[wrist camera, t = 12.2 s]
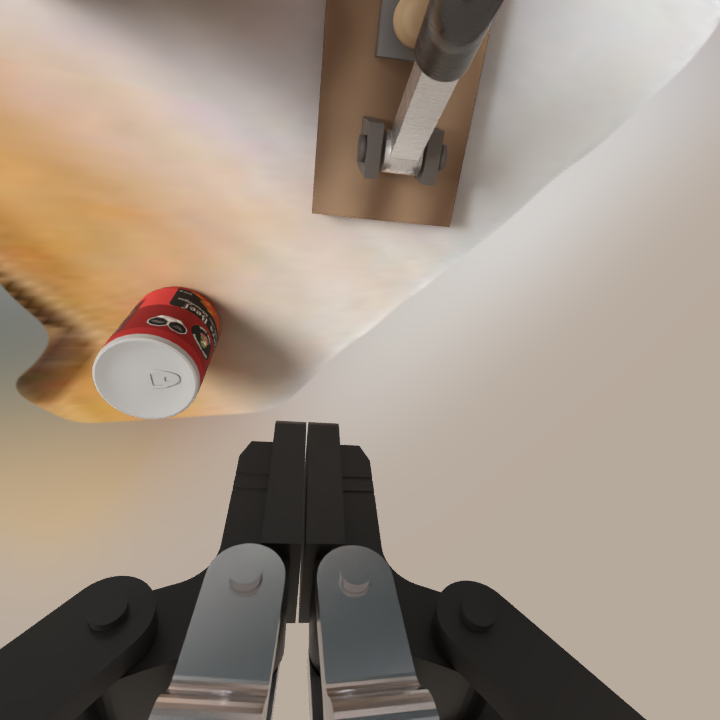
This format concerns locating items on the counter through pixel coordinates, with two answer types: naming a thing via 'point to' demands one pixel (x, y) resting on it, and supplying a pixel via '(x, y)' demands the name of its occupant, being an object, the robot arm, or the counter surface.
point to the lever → (434, 77)
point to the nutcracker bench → (383, 117)
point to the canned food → (158, 354)
